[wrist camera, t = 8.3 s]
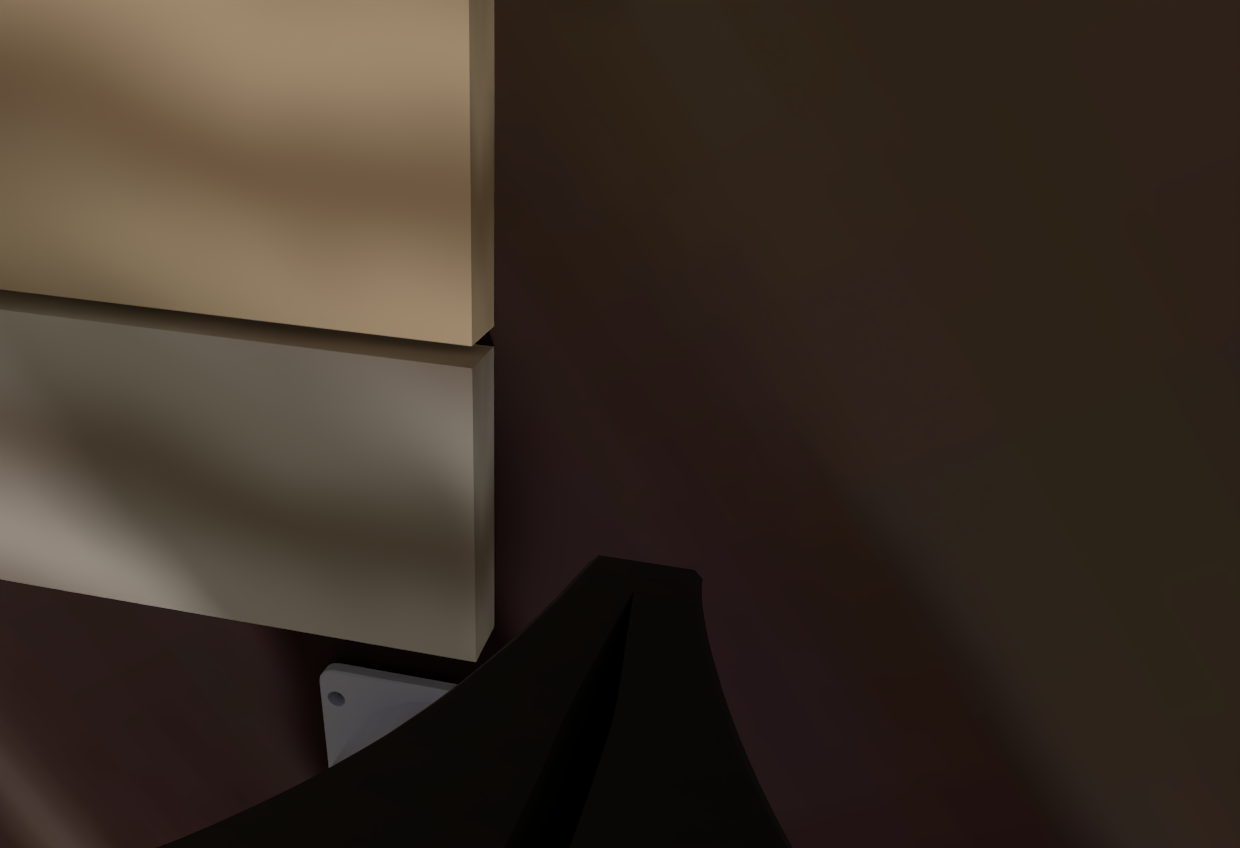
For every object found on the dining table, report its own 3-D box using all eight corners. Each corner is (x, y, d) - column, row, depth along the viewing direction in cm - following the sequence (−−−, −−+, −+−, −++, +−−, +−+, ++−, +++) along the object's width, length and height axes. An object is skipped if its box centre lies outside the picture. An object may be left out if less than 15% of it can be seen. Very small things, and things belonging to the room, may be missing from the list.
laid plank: (494, 626, 23) (475, 662, 22) (-197, 510, 27) (-250, 535, 25) (494, 346, 20) (472, 368, 19) (-296, 251, 23) (-363, 264, 22)
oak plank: (493, 326, 20) (471, 346, 19) (-303, 233, 23) (-371, 244, 22) (494, -73, 17) (468, -84, 15) (-433, -119, 20) (-522, -131, 18)
